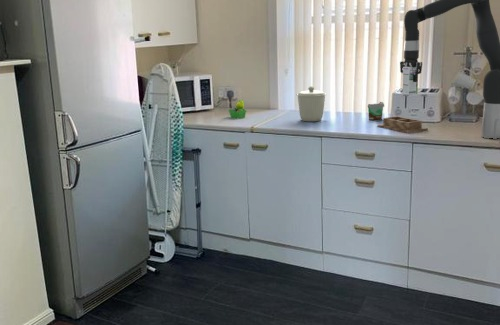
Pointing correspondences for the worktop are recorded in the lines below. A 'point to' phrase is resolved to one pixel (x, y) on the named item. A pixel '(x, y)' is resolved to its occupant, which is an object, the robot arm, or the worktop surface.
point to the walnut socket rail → (402, 124)
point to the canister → (311, 104)
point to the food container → (375, 111)
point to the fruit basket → (238, 110)
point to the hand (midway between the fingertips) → (410, 81)
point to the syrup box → (409, 81)
